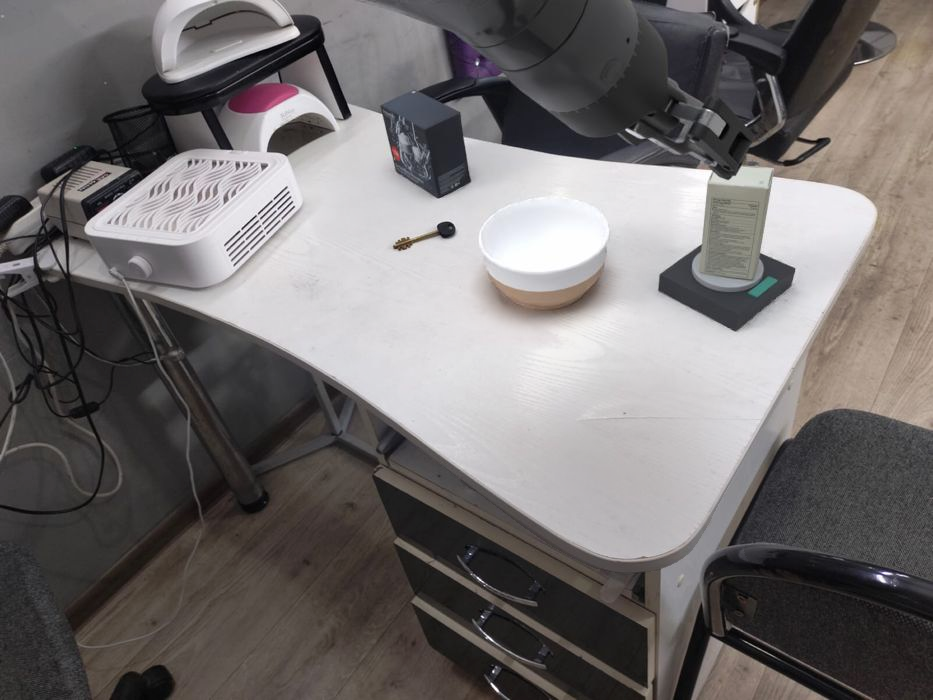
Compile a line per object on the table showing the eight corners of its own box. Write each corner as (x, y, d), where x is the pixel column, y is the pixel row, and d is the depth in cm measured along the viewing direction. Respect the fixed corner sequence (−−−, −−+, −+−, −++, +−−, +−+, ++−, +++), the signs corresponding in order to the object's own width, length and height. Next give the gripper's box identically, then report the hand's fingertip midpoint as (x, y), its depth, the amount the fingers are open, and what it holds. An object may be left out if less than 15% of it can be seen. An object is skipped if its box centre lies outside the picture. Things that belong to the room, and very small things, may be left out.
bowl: (558, 341, 80) (555, 289, 75) (459, 293, 89) (451, 243, 84) (634, 271, 88) (636, 219, 82) (536, 233, 96) (533, 184, 91)
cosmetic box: (759, 260, 81) (778, 167, 72) (753, 282, 78) (772, 188, 70) (703, 251, 83) (715, 161, 75) (695, 272, 81) (707, 181, 72)
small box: (393, 171, 115) (377, 103, 107) (426, 156, 117) (413, 87, 109) (437, 199, 106) (424, 127, 98) (472, 182, 109) (462, 110, 101)
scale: (791, 285, 82) (797, 262, 79) (735, 331, 78) (739, 308, 75) (713, 250, 89) (716, 228, 86) (658, 290, 84) (659, 268, 82)
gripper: (713, 5, 35) (797, 129, 47) (524, -31, 44) (636, 81, 56) (639, 142, 36) (739, 227, 49) (471, 80, 45) (592, 166, 57)
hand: (684, 149), depth 52 cm, fingers open, 8 cm apart
